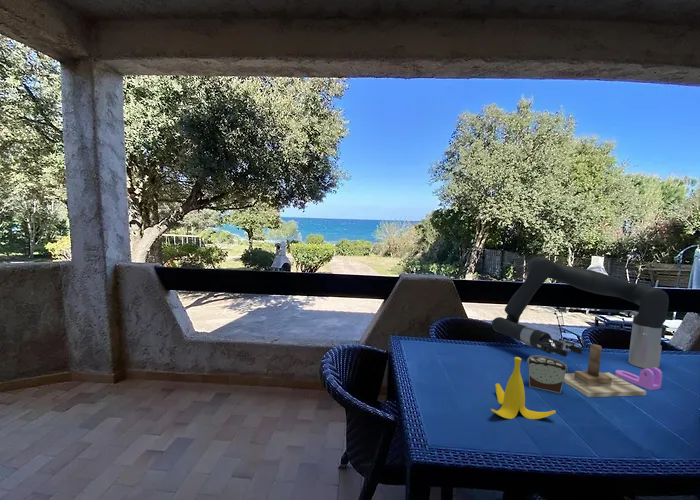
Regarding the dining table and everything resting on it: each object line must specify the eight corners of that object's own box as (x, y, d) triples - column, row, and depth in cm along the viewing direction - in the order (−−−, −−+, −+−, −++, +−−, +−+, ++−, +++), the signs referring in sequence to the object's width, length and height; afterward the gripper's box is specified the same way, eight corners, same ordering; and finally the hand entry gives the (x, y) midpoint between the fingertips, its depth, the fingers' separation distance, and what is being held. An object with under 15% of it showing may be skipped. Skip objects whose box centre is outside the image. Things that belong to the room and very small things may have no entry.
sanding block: (596, 377, 122) (600, 342, 121) (611, 385, 116) (615, 348, 115) (574, 378, 121) (577, 342, 120) (587, 386, 115) (591, 349, 114)
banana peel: (496, 392, 112) (500, 343, 111) (556, 422, 96) (562, 365, 95) (464, 404, 103) (468, 352, 102) (523, 440, 87) (529, 378, 86)
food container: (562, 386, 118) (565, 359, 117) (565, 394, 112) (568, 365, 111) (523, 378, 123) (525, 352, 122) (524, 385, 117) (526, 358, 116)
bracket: (660, 388, 119) (663, 370, 119) (650, 390, 118) (652, 371, 117) (621, 372, 132) (623, 355, 131) (611, 374, 130) (613, 357, 129)
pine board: (608, 376, 128) (609, 372, 128) (645, 395, 114) (646, 391, 114) (556, 377, 125) (557, 373, 125) (588, 397, 111) (588, 392, 111)
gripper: (523, 330, 136) (562, 345, 121) (547, 328, 142) (587, 341, 127) (522, 348, 137) (560, 365, 122) (546, 345, 142) (585, 360, 128)
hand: (574, 352), depth 125 cm, fingers open, 8 cm apart
